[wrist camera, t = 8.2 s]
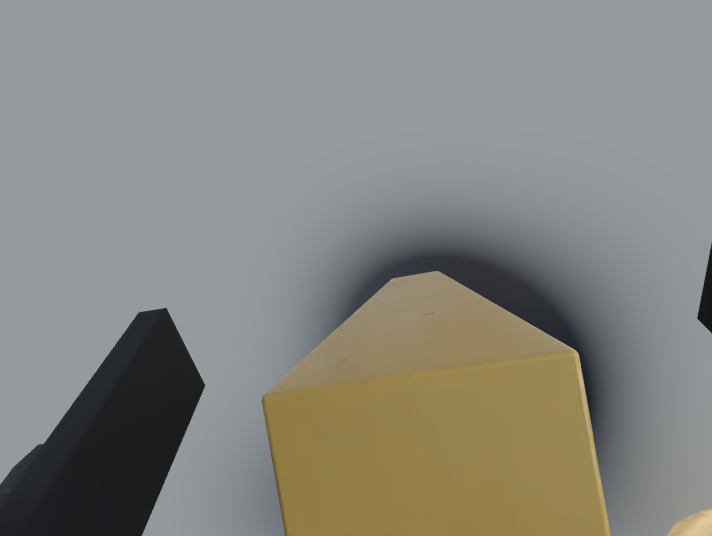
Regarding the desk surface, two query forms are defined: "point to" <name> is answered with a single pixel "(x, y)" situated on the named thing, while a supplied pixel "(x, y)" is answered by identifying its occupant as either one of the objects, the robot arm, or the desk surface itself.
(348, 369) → the bar
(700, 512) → the desk surface
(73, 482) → the robot arm
